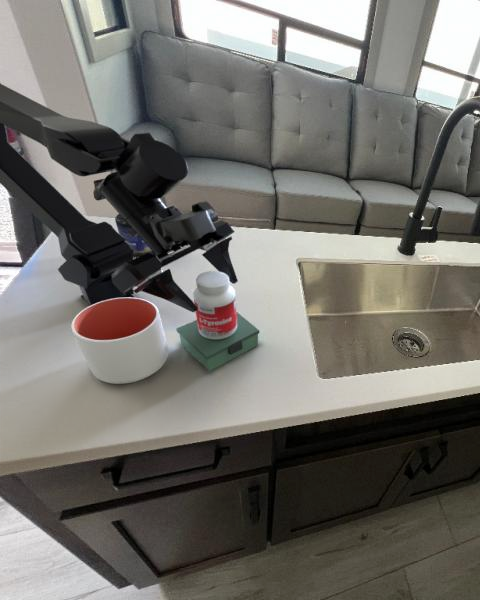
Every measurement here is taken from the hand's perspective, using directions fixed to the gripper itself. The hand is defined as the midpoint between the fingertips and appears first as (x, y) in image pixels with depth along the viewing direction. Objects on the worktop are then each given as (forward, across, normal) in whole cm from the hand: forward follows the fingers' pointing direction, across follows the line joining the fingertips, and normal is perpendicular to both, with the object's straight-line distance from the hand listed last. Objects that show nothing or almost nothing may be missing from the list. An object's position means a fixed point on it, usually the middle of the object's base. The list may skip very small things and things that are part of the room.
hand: (217, 295), depth 54 cm
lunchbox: (+8, 0, +8) cm, 12 cm away
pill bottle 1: (-16, +16, +33) cm, 40 cm away
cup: (+2, -10, +15) cm, 18 cm away
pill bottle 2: (+5, 0, +6) cm, 8 cm away
